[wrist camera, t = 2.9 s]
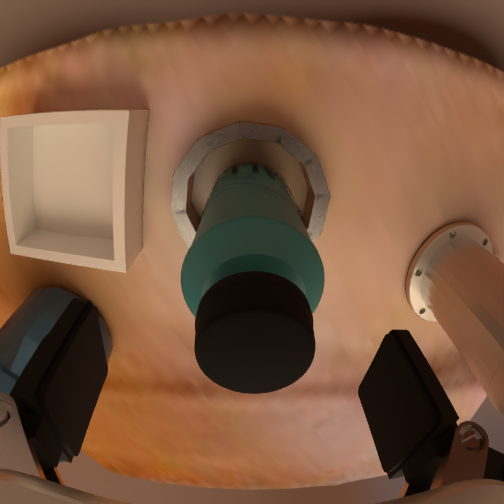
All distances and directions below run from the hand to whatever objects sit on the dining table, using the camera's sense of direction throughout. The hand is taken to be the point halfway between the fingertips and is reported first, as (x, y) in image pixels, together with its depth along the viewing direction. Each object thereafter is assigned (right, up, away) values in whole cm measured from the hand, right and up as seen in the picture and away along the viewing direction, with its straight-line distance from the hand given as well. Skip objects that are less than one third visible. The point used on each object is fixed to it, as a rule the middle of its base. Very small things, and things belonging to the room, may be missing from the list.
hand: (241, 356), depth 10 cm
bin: (-16, +10, +17) cm, 25 cm away
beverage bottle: (0, +8, +18) cm, 20 cm away
